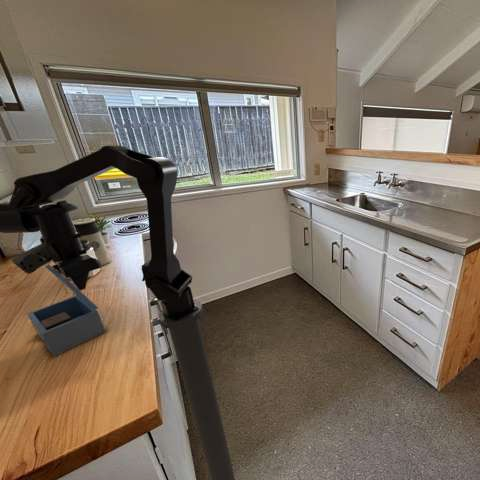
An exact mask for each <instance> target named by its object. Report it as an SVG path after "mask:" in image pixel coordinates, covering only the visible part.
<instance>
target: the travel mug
mask: <svg viewBox="0 0 480 480" xmlns="http://www.w3.org/2000/svg"><path fill="white" fill-rule="evenodd" d="M72 221H73V224H74V226H75V229H76V231H77V232H78V233H80V235H81V237H80V238H79V239H80V240H87V241H89V243H90V246H91V248H93V250H94V252H95V255H96V258H97V259H98V260H99V262H100V265H101V267H102V266H103V267H104V266H105V265H107V264H109V263H110V262H111V259H110V256H109V253H108V250H107V248H106V247H105V244H104V241H103V238H102V235H101V233H102V232H100V229H99V227H98V226H99V225H98V226H97V225H96V224H95V219H94V218H91V217H87V218H86V217H85V218H79V219H75V220H72Z"/></svg>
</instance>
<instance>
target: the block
mask: <svg viewBox="0 0 480 480" xmlns="http://www.w3.org/2000/svg"><path fill="white" fill-rule="evenodd" d="M68 321H71V318H70V317H69V316H68V315H67V314H66V313H65V312H63V313H60V314H58V315H55V316H53V317H50V318H48V319H45V320H43V321H41V324H42V325H43V327H44V328H45V329H46V330H49V329H52V328H54V327H56V326H59V325H61V324H63V323H66V322H68Z"/></svg>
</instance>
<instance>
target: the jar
mask: <svg viewBox="0 0 480 480" xmlns="http://www.w3.org/2000/svg"><path fill="white" fill-rule="evenodd" d="M80 242H81V245H82V248H84V249H86V252H87V253H86V254H82V255H80V256H84V255H90V256H93V257H95V258H96V255H95V252H94V250H93V248H91V246H90V243H89V241H87V240H80ZM96 259H97V258H96ZM100 271H102V269H101V267H100V268H99V269H96V270H92V271H90V272H89V275H88V278H92V277H94V276H96V275H97V274H99V272H100ZM69 279H70V278H68V280H69ZM70 280H71V279H70Z"/></svg>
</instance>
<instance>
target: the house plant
mask: <svg viewBox="0 0 480 480" xmlns="http://www.w3.org/2000/svg"><path fill="white" fill-rule="evenodd" d="M101 215H102V213H99V215H98V216H97V217H96V216H95V214H92V213H89V218H94V219H95V224H96V225H97V226H98V227H99V229H100V232H101V235H102V238H103V241H104V244H108V243H110V236H109V232H106V229H108V228H113V227H114V225H113V223H111V222H114V221H116V219H112V220H108V219H109V218H110V216H109V215H110V214H106V215H104V216H103V218H101V220H100V216H101ZM107 216H108V217H107ZM99 220H100V221H99ZM109 223H111V224H109ZM110 244H111V243H110ZM110 244H109V245H108V246H105V247H106V249H108V248H110Z"/></svg>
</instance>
